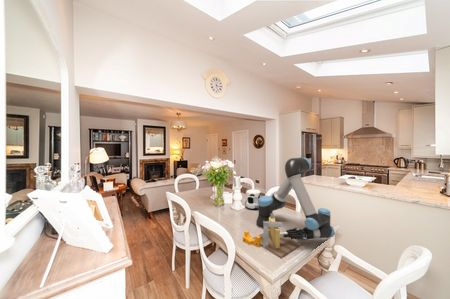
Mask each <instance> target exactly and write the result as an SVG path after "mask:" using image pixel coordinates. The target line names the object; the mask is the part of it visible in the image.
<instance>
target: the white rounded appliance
mask: <svg viewBox="0 0 450 299" xmlns="http://www.w3.org/2000/svg"><path fill="white" fill-rule="evenodd" d="M245 196H246V197H245V202H244V204H245V207H246V208H247V209H249V210H258V202H259V198H260V197H261V196H262V193H261V190H259V189H257V188H256V189H255V188H251V189H247V190H246V192H245Z"/></svg>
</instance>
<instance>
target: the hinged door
mask: <svg viewBox="0 0 450 299" xmlns="http://www.w3.org/2000/svg"><path fill="white" fill-rule="evenodd" d="M269 221H272V222H276V217H274V212H273V213H271V214H270V217H269ZM268 231H269V234H270V235H271V237H272V240H273V242H274V245H275V248H280V233H281V231H280V227H272V226H269V229H268Z"/></svg>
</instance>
